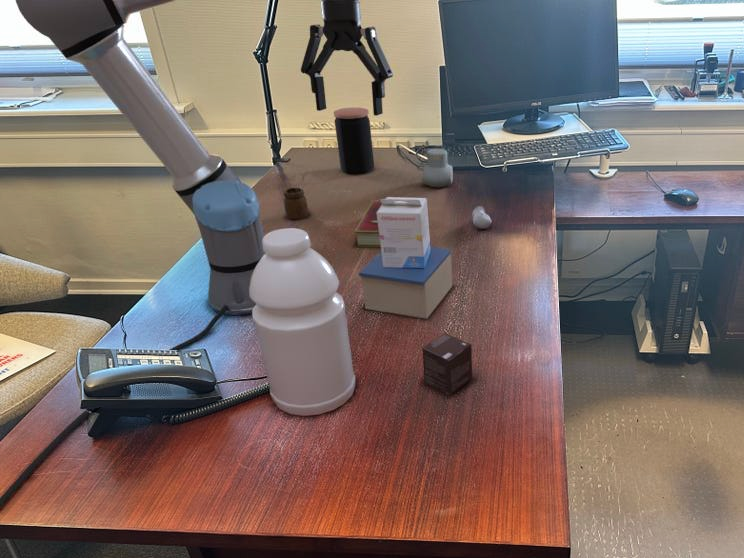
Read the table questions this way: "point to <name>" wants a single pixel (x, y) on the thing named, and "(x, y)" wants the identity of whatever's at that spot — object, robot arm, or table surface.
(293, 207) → the utensil holder
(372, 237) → the hardcover book
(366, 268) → the storage box lid
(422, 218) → the ink box
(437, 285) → the storage box
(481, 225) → the white bust figurine
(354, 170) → the coffee jar
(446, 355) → the box
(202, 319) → the table surface
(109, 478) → the table surface
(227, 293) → the robot arm
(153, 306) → the table surface
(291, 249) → the bottle
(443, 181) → the air freshener
